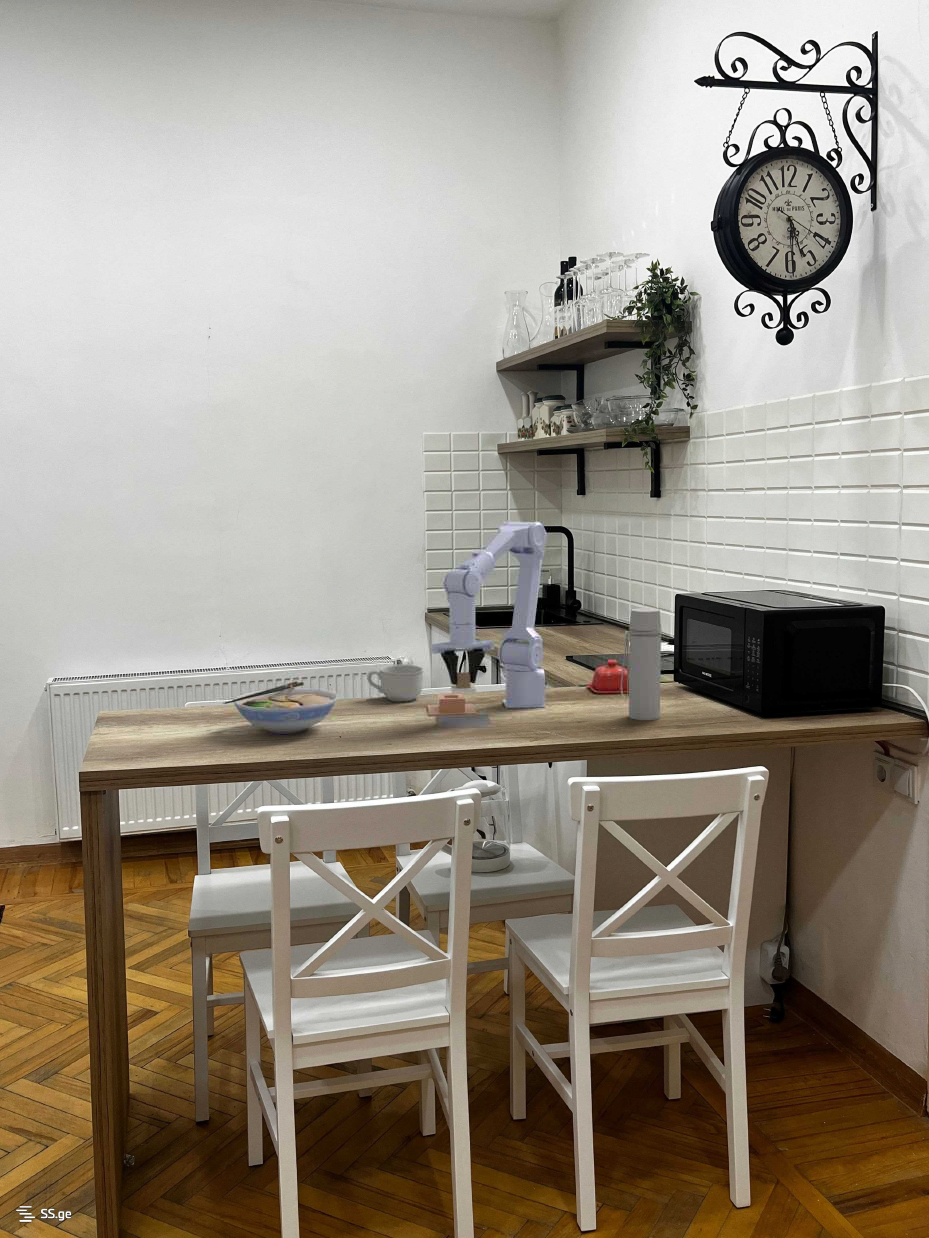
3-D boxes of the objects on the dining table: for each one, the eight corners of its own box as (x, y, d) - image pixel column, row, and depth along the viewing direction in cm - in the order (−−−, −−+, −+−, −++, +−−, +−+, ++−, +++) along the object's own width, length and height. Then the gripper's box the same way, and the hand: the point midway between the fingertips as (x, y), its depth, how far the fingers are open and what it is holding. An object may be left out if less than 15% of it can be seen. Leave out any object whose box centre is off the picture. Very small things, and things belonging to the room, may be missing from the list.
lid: (473, 687, 243) (473, 671, 242) (475, 692, 238) (475, 675, 237) (451, 688, 242) (450, 671, 242) (452, 692, 237) (451, 675, 237)
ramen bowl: (288, 748, 218) (287, 709, 217) (207, 735, 230) (206, 698, 229) (363, 725, 239) (362, 689, 238) (285, 714, 251) (284, 680, 250)
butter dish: (639, 696, 271) (639, 662, 270) (594, 697, 270) (594, 663, 269) (628, 687, 282) (628, 655, 281) (585, 688, 281) (585, 656, 280)
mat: (487, 716, 247) (487, 714, 247) (492, 728, 235) (492, 726, 235) (435, 717, 246) (435, 716, 246) (438, 729, 234) (438, 727, 234)
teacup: (426, 695, 273) (425, 664, 272) (420, 703, 262) (420, 671, 261) (372, 694, 274) (371, 664, 273) (364, 703, 264) (363, 671, 263)
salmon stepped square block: (472, 705, 259) (472, 691, 259) (476, 715, 248) (476, 700, 248) (427, 706, 258) (427, 692, 258) (429, 716, 248) (428, 701, 247)
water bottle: (664, 717, 244) (666, 608, 241) (655, 724, 237) (657, 612, 234) (625, 714, 248) (626, 607, 245) (615, 721, 241) (616, 610, 238)
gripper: (485, 619, 245) (485, 677, 246) (425, 622, 239) (426, 682, 241) (497, 622, 238) (498, 682, 240) (436, 626, 233) (437, 688, 234)
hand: (463, 683), depth 240 cm, fingers closed on lid, 4 cm apart
